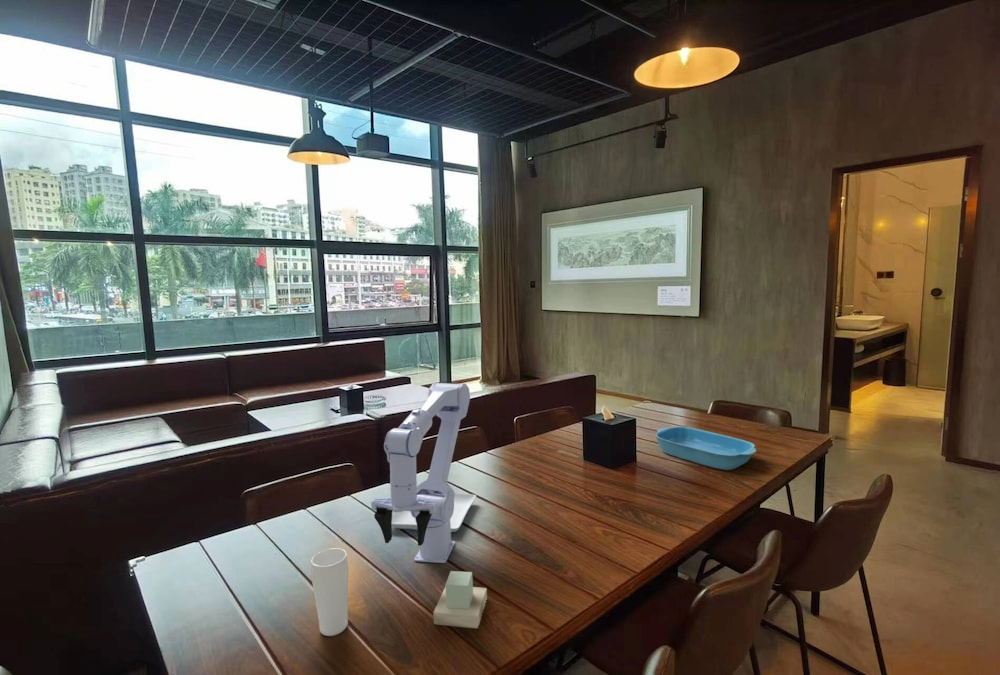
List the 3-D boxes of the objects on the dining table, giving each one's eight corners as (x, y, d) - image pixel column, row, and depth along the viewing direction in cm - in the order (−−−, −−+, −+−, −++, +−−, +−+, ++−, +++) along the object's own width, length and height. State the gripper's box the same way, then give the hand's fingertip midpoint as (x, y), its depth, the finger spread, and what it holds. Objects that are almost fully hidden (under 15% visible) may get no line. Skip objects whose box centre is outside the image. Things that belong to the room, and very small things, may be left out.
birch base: (446, 597, 104) (446, 584, 104) (487, 601, 103) (486, 588, 102) (434, 626, 96) (433, 612, 95) (477, 631, 94) (477, 616, 94)
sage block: (451, 593, 101) (450, 571, 100) (473, 594, 100) (472, 572, 100) (446, 607, 96) (445, 584, 96) (468, 609, 96) (467, 585, 95)
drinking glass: (355, 615, 99) (351, 546, 97) (346, 639, 92) (341, 566, 90) (322, 617, 98) (317, 548, 97) (310, 641, 92) (305, 567, 90)
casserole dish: (766, 462, 175) (767, 443, 174) (738, 479, 161) (738, 458, 160) (675, 439, 203) (675, 422, 203) (644, 451, 190) (644, 434, 189)
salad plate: (458, 539, 128) (458, 527, 127) (384, 533, 132) (384, 521, 132) (478, 504, 148) (477, 493, 148) (413, 499, 153) (413, 489, 152)
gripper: (364, 487, 103) (366, 548, 104) (429, 490, 101) (430, 553, 102) (378, 476, 110) (379, 533, 111) (439, 479, 108) (439, 538, 108)
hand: (404, 542), depth 107 cm, fingers open, 7 cm apart
